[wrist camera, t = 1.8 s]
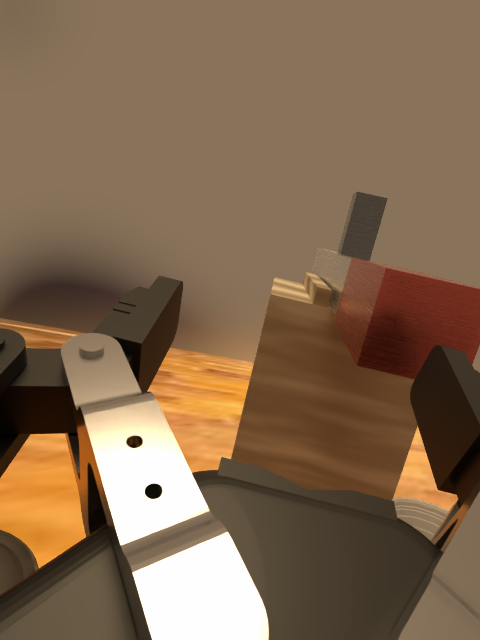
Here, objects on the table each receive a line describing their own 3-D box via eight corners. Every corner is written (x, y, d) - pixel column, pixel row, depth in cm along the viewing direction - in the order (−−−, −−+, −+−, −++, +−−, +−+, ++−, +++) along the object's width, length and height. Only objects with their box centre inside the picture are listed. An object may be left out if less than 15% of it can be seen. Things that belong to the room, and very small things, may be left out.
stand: (336, 722, 32) (476, 324, 25) (167, 672, 33) (259, 274, 26) (318, 565, 48) (402, 293, 41) (204, 534, 49) (268, 262, 42)
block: (462, 391, 15) (551, 150, 13) (356, 365, 15) (428, 125, 14) (340, 283, 50) (360, 212, 48) (308, 276, 50) (327, 205, 49)
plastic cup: (406, 574, 50) (436, 489, 47) (481, 667, 40) (525, 565, 37) (331, 583, 46) (360, 490, 43) (394, 687, 36) (436, 576, 33)
